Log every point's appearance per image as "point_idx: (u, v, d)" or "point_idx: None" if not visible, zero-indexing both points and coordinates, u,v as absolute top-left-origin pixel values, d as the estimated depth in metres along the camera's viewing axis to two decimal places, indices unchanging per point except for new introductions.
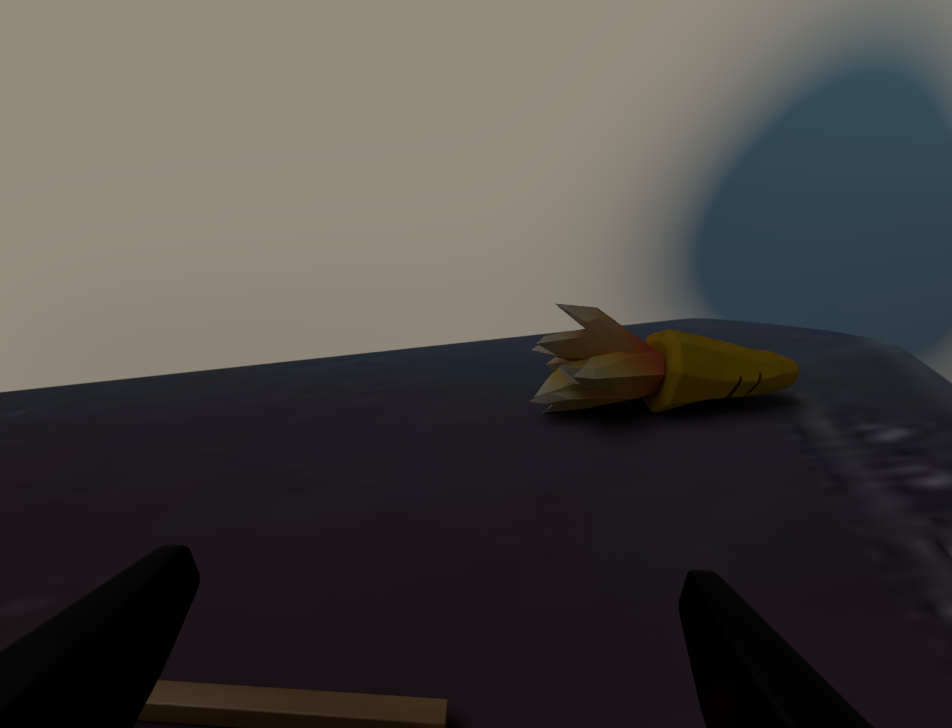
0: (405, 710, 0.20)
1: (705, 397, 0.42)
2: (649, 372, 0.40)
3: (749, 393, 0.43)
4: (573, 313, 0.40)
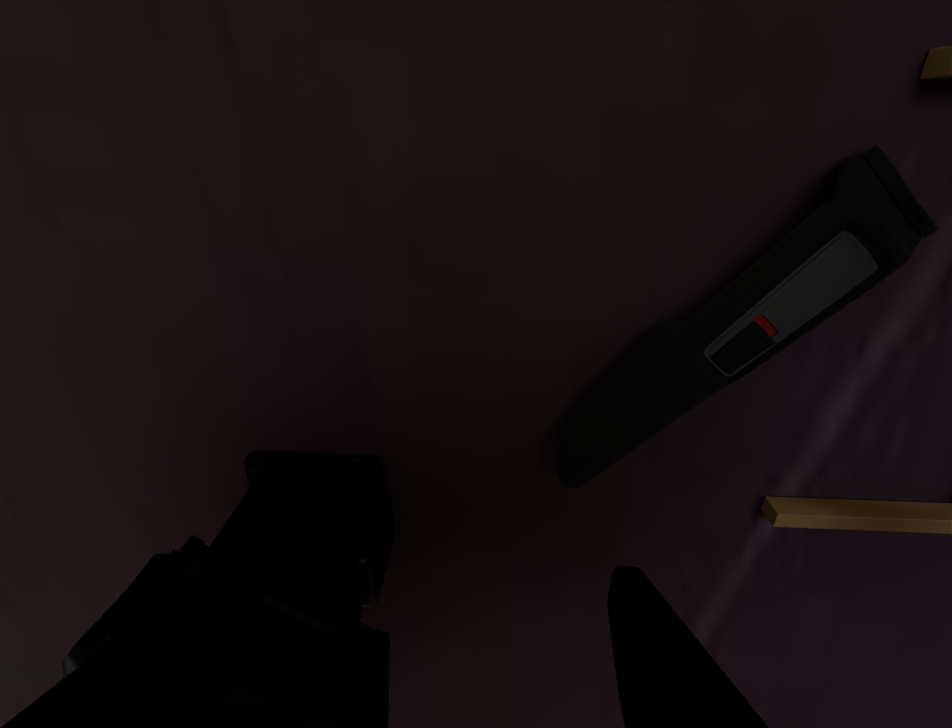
0: None
1: None
2: None
3: None
4: None
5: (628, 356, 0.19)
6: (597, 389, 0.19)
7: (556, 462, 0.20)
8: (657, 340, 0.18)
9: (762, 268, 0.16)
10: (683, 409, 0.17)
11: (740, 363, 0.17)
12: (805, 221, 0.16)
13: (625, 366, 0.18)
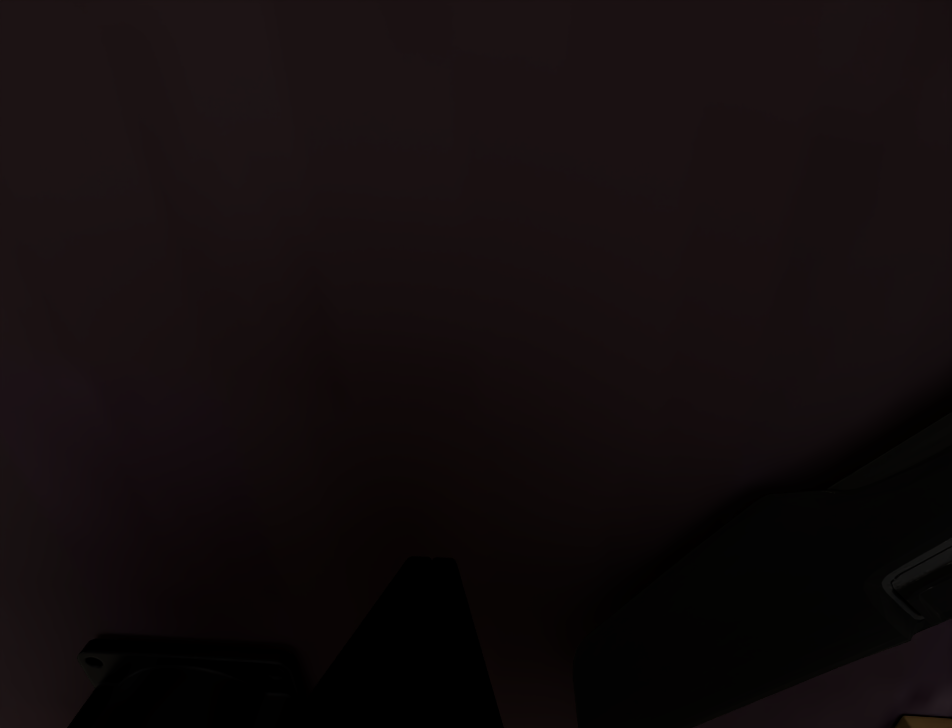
0: None
1: None
2: None
3: None
4: None
5: (712, 546, 0.10)
6: (651, 591, 0.11)
7: (578, 712, 0.11)
8: (774, 532, 0.09)
9: None
10: (826, 671, 0.09)
11: None
12: None
13: (707, 566, 0.10)
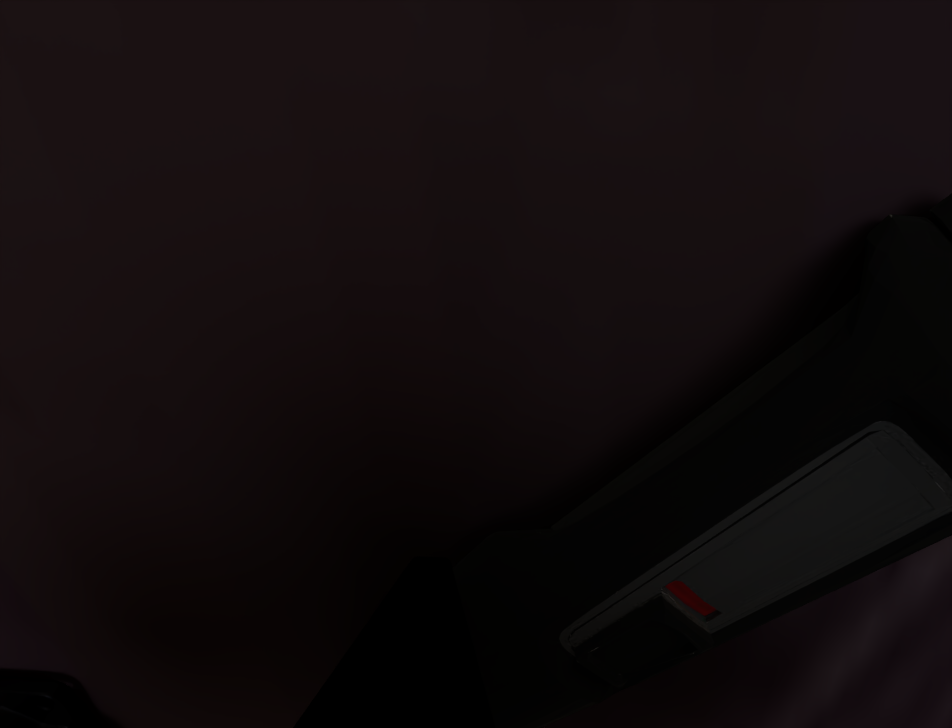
0: None
1: None
2: None
3: None
4: None
5: None
6: None
7: None
8: (482, 575, 0.09)
9: (680, 476, 0.07)
10: None
11: (637, 668, 0.07)
12: (786, 359, 0.07)
13: None
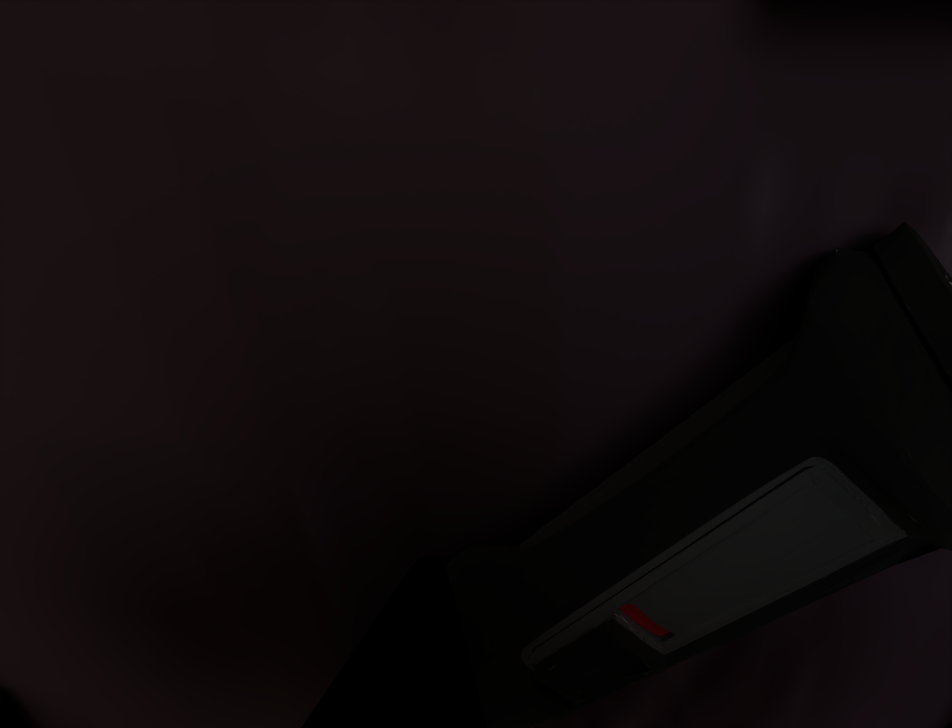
0: None
1: None
2: None
3: None
4: None
5: None
6: None
7: None
8: (452, 591, 0.09)
9: (630, 504, 0.07)
10: None
11: (595, 685, 0.08)
12: (738, 388, 0.07)
13: None
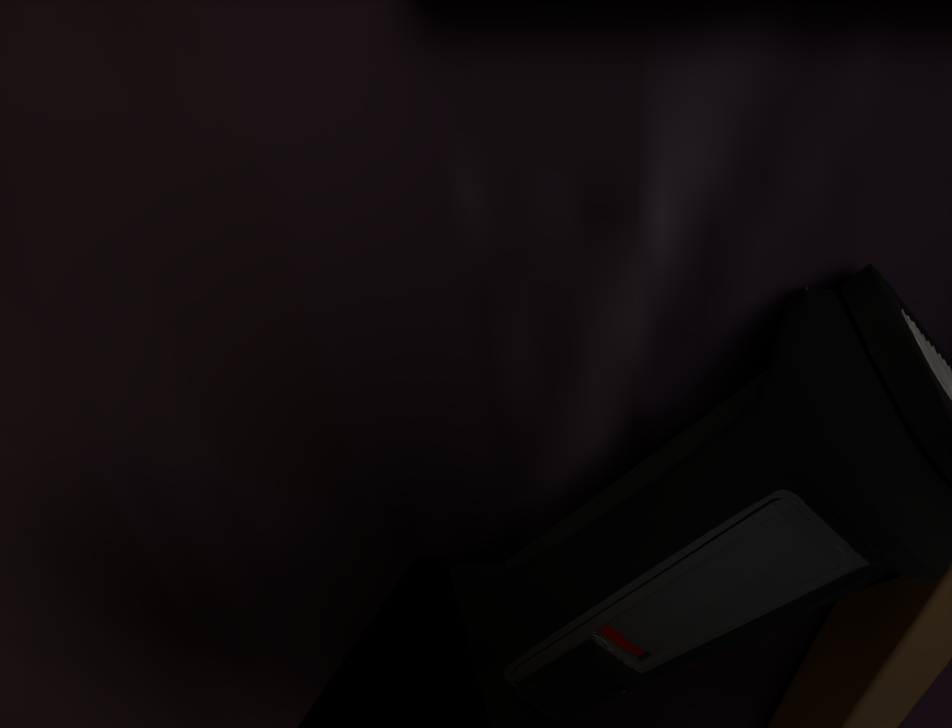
0: None
1: None
2: None
3: None
4: None
5: None
6: None
7: None
8: None
9: (609, 529, 0.07)
10: None
11: (576, 703, 0.08)
12: (713, 417, 0.07)
13: None
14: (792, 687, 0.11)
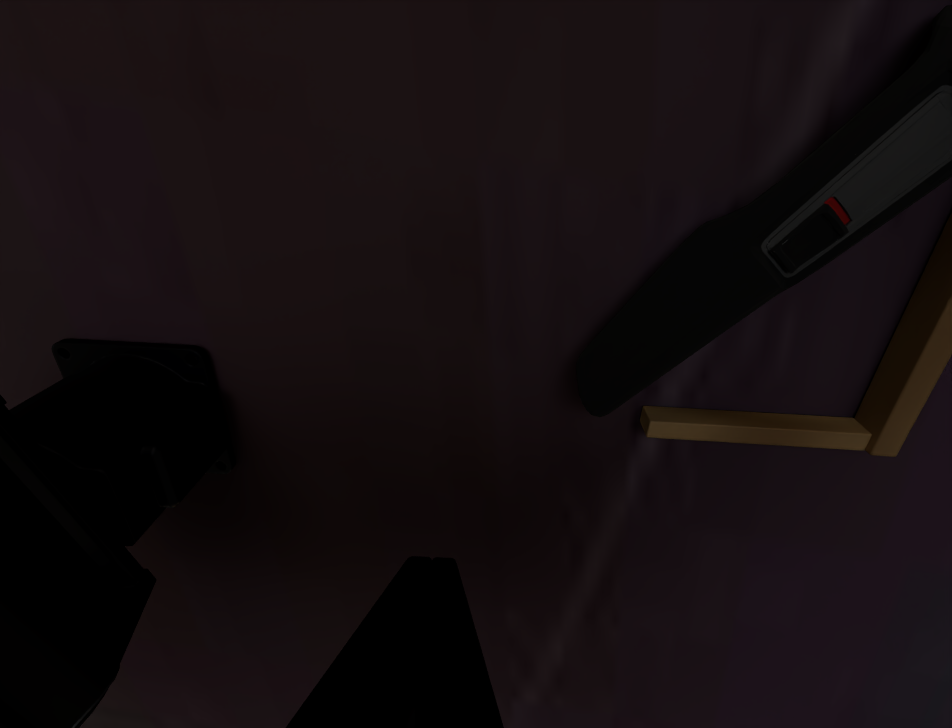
0: (901, 419, 0.18)
1: None
2: None
3: None
4: None
5: (667, 261, 0.16)
6: None
7: (579, 386, 0.17)
8: (703, 238, 0.15)
9: (837, 139, 0.13)
10: (732, 317, 0.15)
11: (804, 259, 0.14)
12: (888, 88, 0.14)
13: (663, 271, 0.16)
14: (894, 337, 0.18)
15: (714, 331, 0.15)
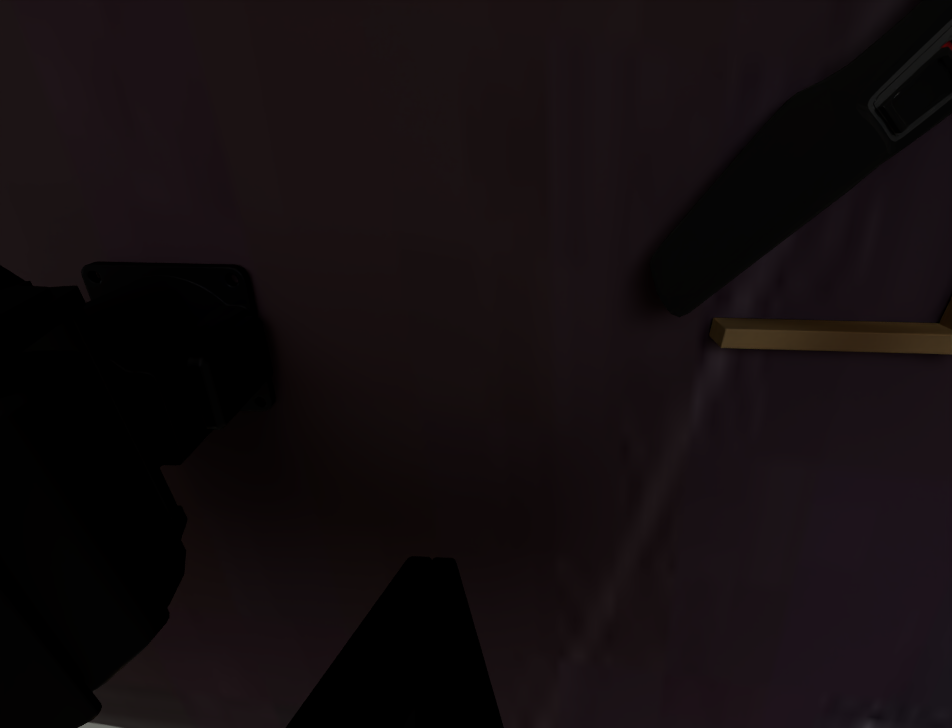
0: None
1: None
2: None
3: None
4: None
5: (752, 140, 0.15)
6: (708, 190, 0.16)
7: (656, 284, 0.16)
8: (796, 107, 0.14)
9: None
10: (832, 189, 0.14)
11: (915, 115, 0.13)
12: None
13: (750, 150, 0.15)
14: None
15: (811, 207, 0.14)
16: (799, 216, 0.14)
